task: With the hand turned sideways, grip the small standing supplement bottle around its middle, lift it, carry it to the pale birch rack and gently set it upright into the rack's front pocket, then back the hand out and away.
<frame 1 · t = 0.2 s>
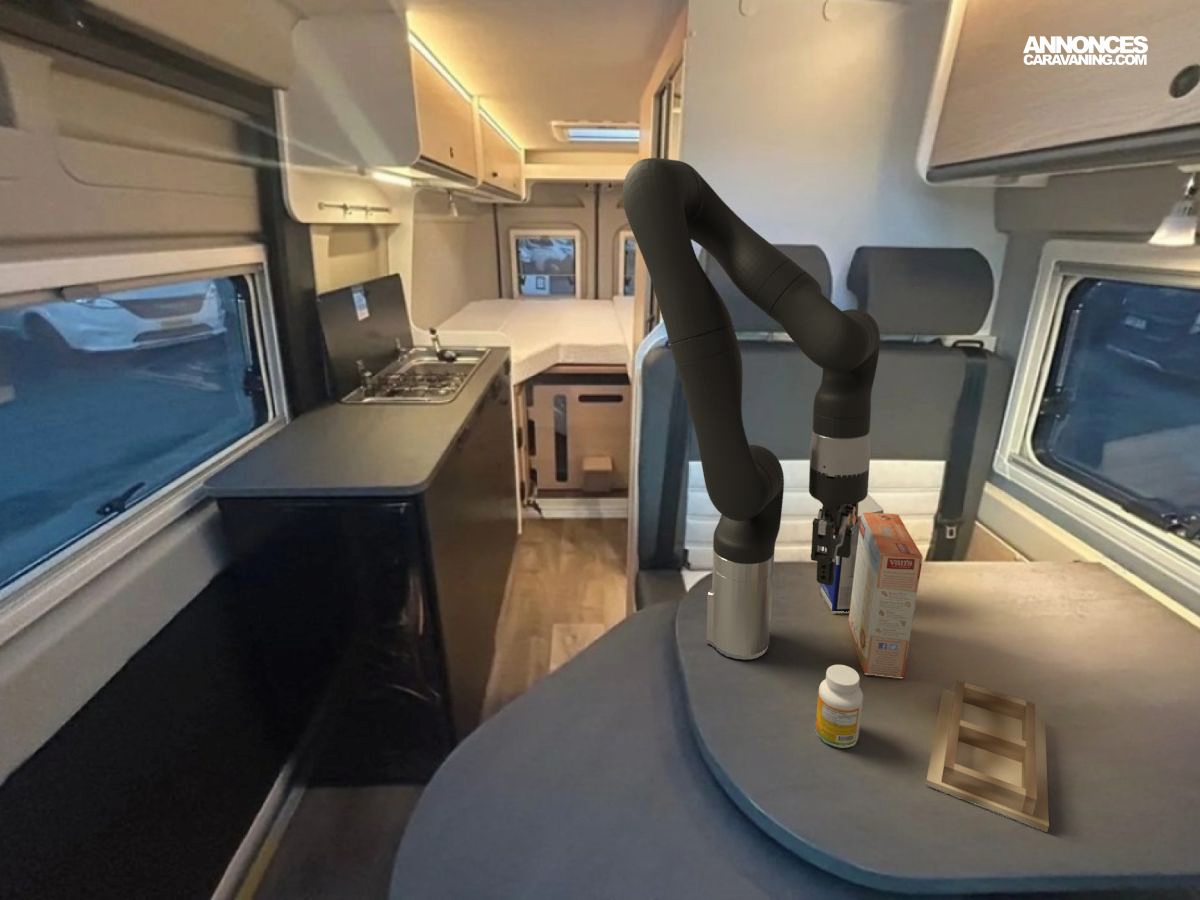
hand: (834, 569, 89), 18 cm above the table, tool pointing down, fingers open, 8 cm apart
milk carton: (844, 603, 111), on the table
birch rack: (987, 754, 78), on the table
cracker box: (874, 650, 99), on the table
supplement bottle: (836, 735, 83), on the table
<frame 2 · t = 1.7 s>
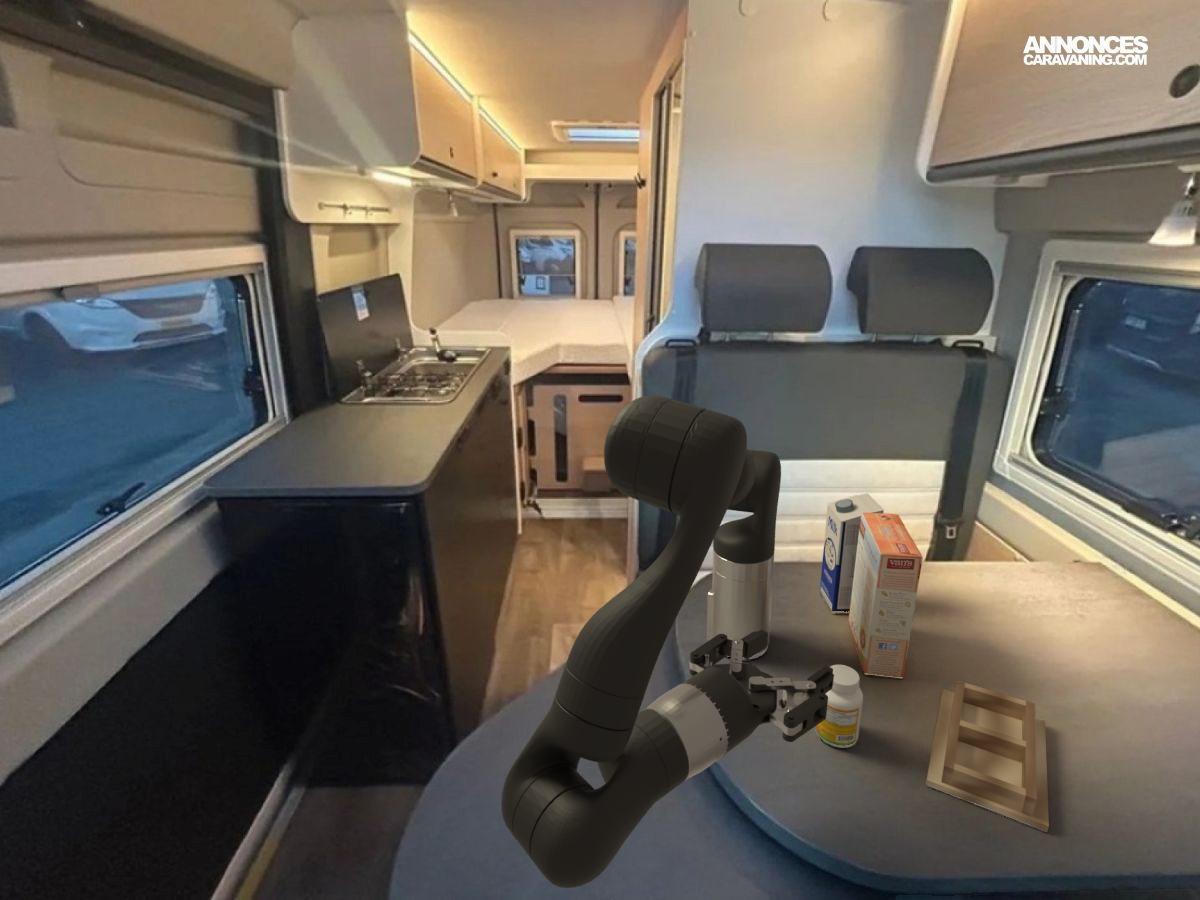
hand: (795, 654, 70), 18 cm above the table, tool horizontal, fingers open, 8 cm apart
nothing on the table moved.
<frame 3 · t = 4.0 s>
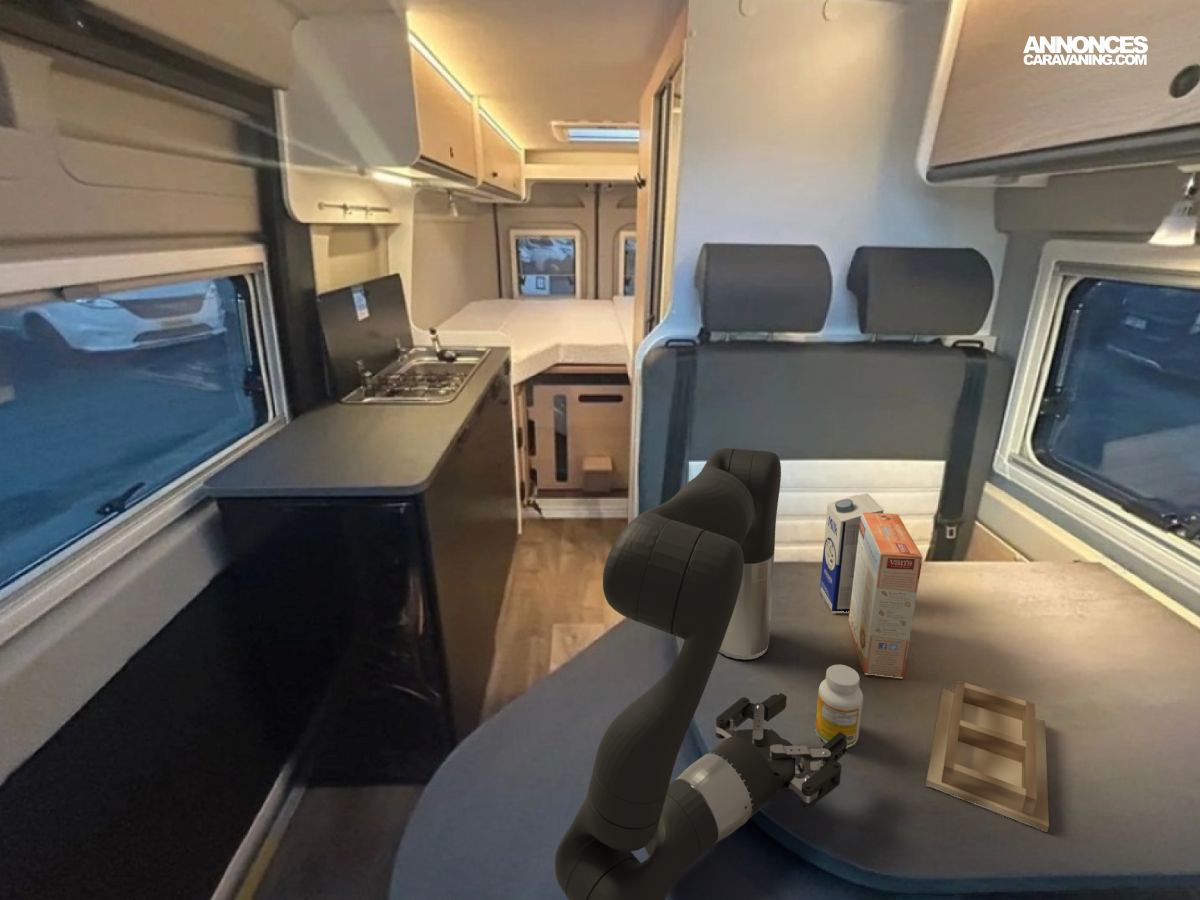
hand: (812, 718, 77), 6 cm above the table, tool horizontal, fingers open, 8 cm apart
nothing on the table moved.
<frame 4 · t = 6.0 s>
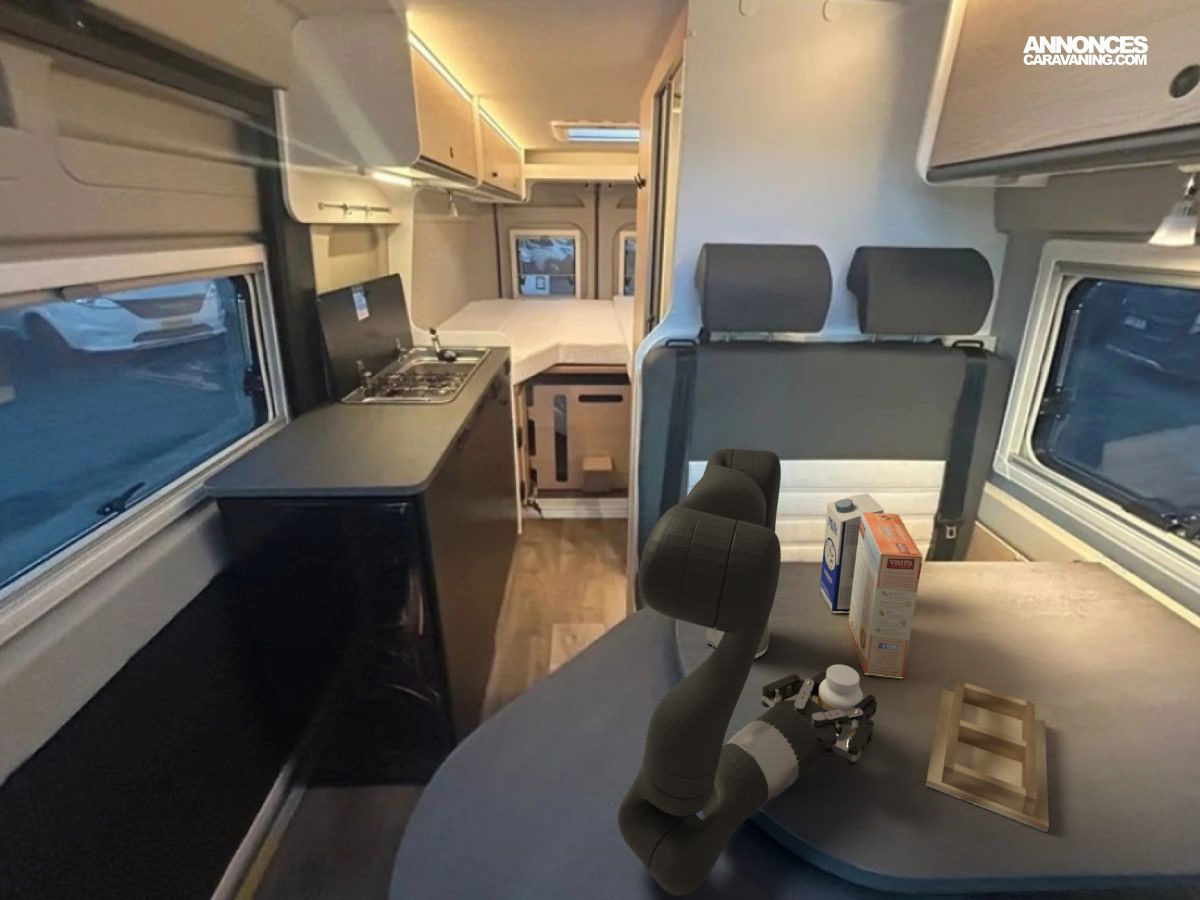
hand: (851, 688, 82), 6 cm above the table, tool horizontal, fingers closed on supplement bottle, 5 cm apart
supplement bottle: (836, 735, 83), on the table, touching gripper
everything else where it was.
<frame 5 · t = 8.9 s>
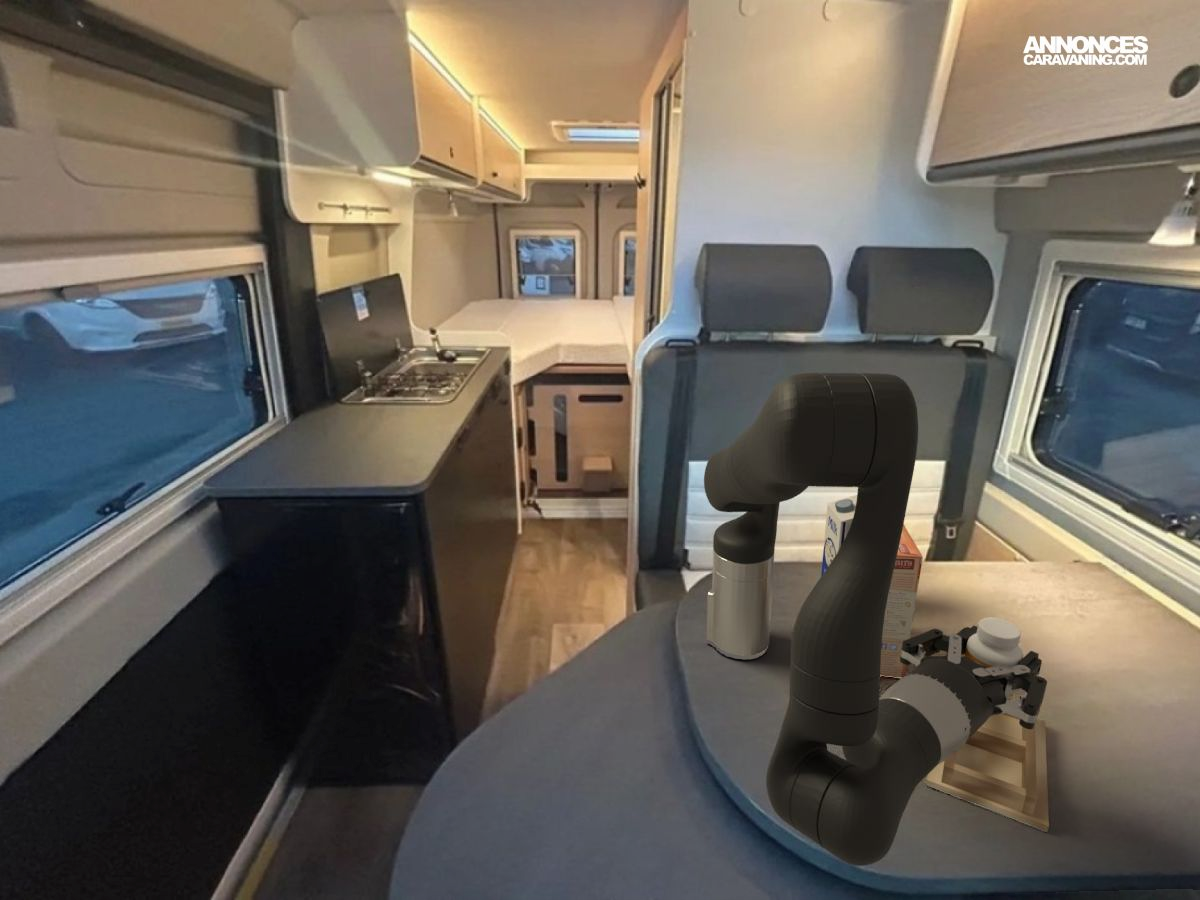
hand: (1003, 645, 71), 18 cm above the table, tool horizontal, fingers closed on supplement bottle, 5 cm apart
supplement bottle: (984, 700, 72), point 11 cm above the table, touching gripper
everything else where it was.
when the fingers open (8 cm above the table, at t = 11.9 s): supplement bottle drops 1 cm, resting on birch rack.
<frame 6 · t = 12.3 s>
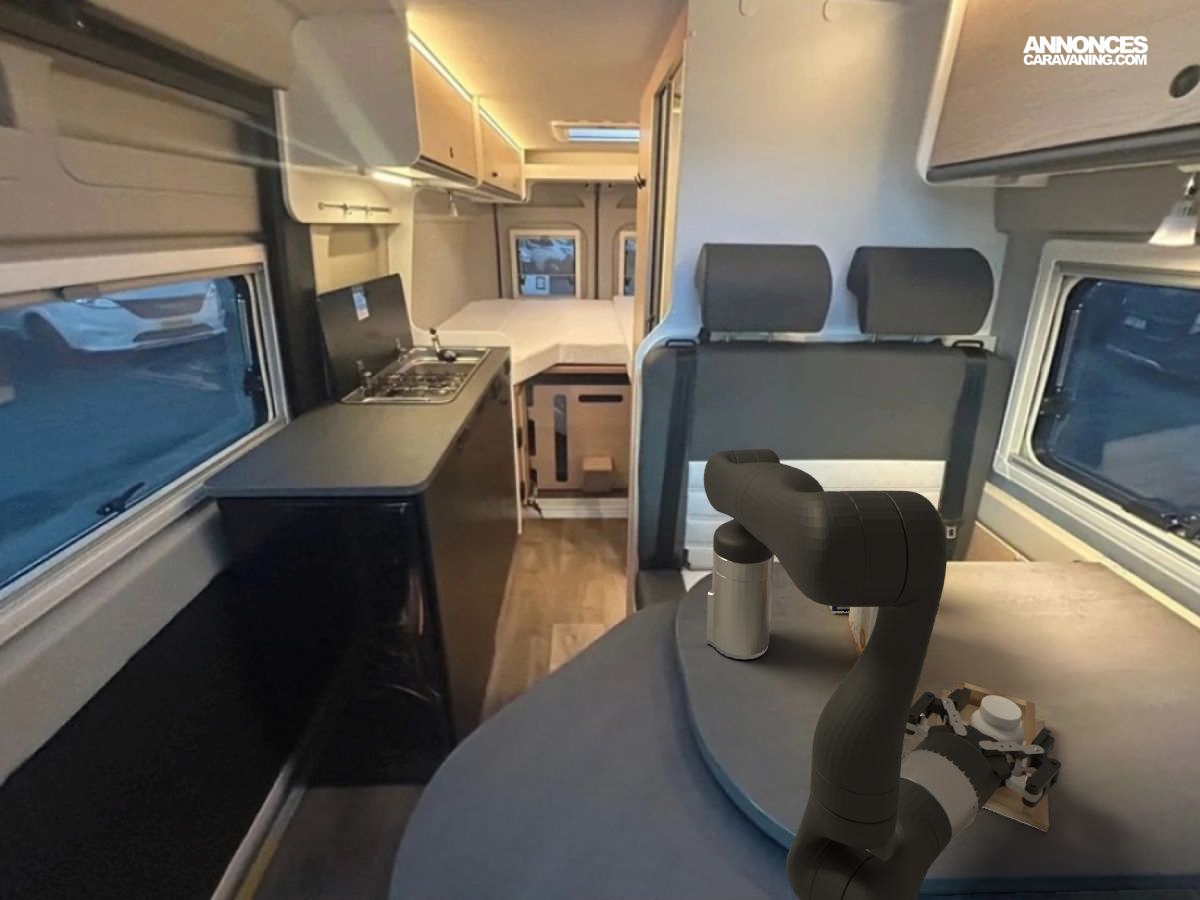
hand: (1004, 713, 73), 9 cm above the table, tool horizontal, fingers open, 8 cm apart
supplement bottle: (986, 772, 75), point 1 cm above the table, touching birch rack
everything else where it was.
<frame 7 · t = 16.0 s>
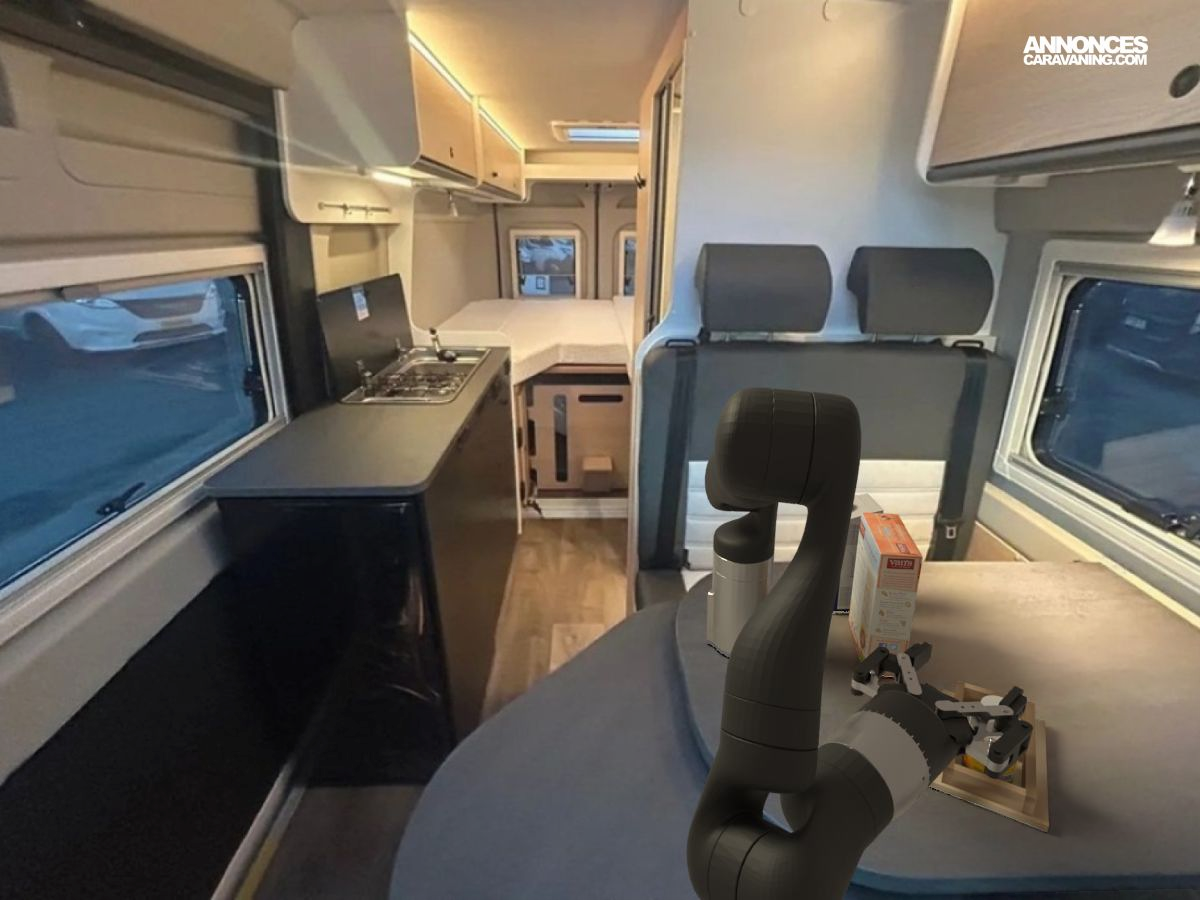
hand: (970, 671, 62), 21 cm above the table, tool horizontal, fingers open, 8 cm apart
nothing on the table moved.
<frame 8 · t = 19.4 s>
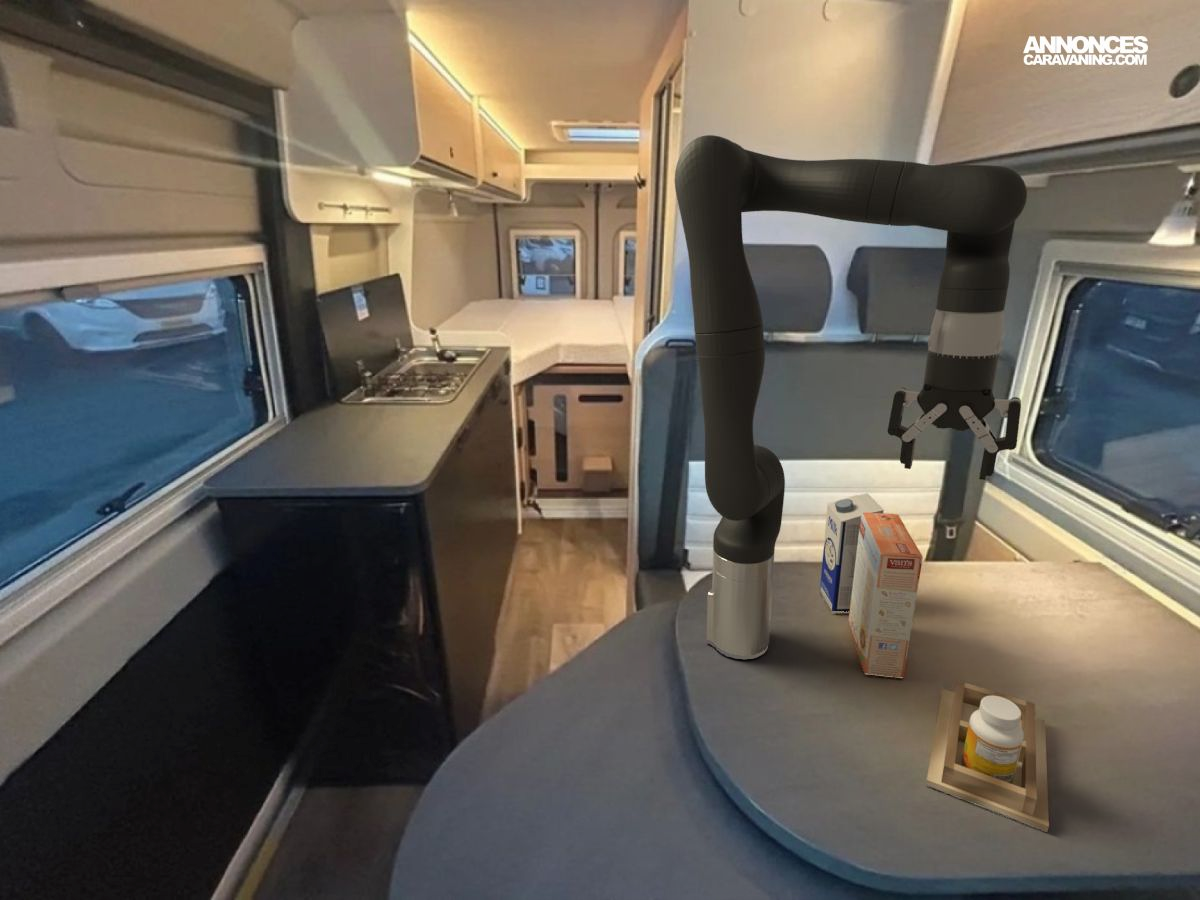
hand: (944, 472, 80), 33 cm above the table, tool pointing down, fingers open, 8 cm apart
nothing on the table moved.
at the end: supplement bottle 0.2 cm from the target spot on the birch rack, point 0.8 cm above the birch rack's base; supplement bottle tilted 0°; the gripper is holding nothing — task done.
